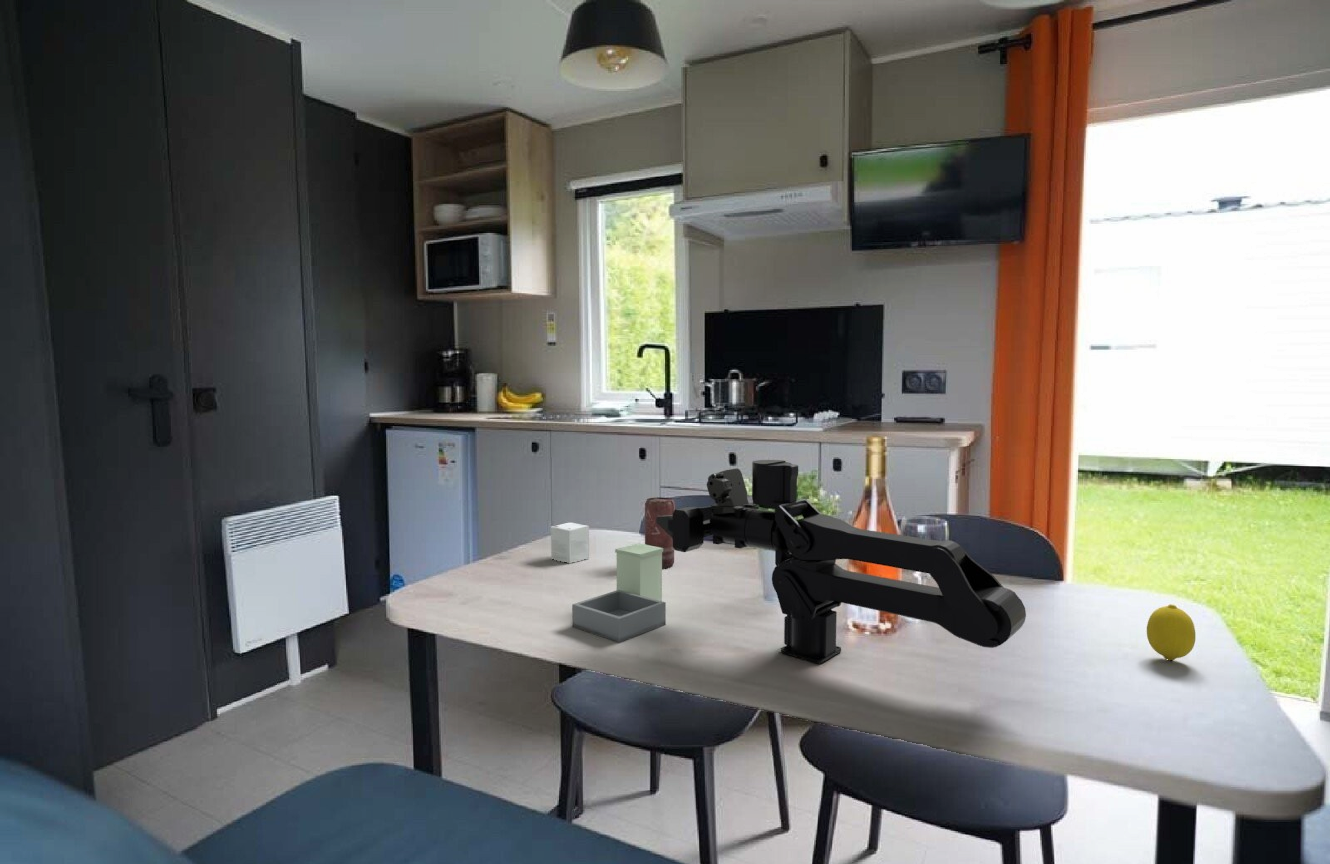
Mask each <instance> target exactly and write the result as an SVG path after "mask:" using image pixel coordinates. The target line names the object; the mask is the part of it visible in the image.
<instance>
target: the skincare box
mask: <svg viewBox="0 0 1330 864" xmlns="http://www.w3.org/2000/svg"><path fill="white" fill-rule="evenodd" d="M550 550H551V551H550V553H551V560H552V559H554V560H553V561H556V560H557V562H560V561H561V563H564V562H567V563H566V564H568V563H571V562H575V563H578V562H577V561H579V562H582V561H581V560H583V561H585V560H584V559H587V560H588V558H589V559H590V555H591V554H590V526H589V525H586V524H585V525H584V524H580V523H575V522H565V523H562V524H561V523H560V524H557V525H552V526H550ZM571 564H572V563H571Z"/></svg>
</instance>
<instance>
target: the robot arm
mask: <svg viewBox="0 0 1330 864" xmlns="http://www.w3.org/2000/svg"><path fill="white" fill-rule="evenodd" d="M751 464H752V465H751V471H752V472H751V474H752V475H751V495H748V490H747V488H746V483H745V480H744V476H743V473H742V471H741V469H739V468H738V467H737V468H736V467H735V468H729V469H724V470H722V471H719V472H716V473H712V474H710V475H709V476H708V477H707V481H706V487H707V492H708V496H709V497H710V499H711V500H714V502H715V503H716V504H712V505H710V506H703V507H696V506H684V507H678V508H675V510H674V512H673V515H667V516H657V517H656V523H657V524H658V525H659V526H660V527H661V528H662V529H663V530H664V531H665V532H666V533H667V534H668V535H669V536H670V537H671V538H672V539H673V548H674V551H676V552H682V553H687V552H690V551H695V550H698V549H699V548H701V547H702V545H703V544H704V542H705V541H704V538H707V537H709V536H712V544H713V545H721V544H725V543H729V544H733V545H734V548H735V549H743V548H747V547H749V548H750V547H751V548H757V549H761V550H767V551H774V554H775V555H774V556H775V557H774V558H775V560H774V563H775V567H774V568H773V570H772V574H771V583H772V587H773V589H774V592H775V594H776V595H777V598H778V603H779V606H780V611H781V613H782V614H783V615H785V616H784V618H783V621H784V623H783V624H784V625H783V629H784V630H783V631H784V633H783V644H784V646H783V647H781V648H780V653H781V654H785V655H789V656H792V657H794V658H795V657H796V658H799V659H801V660H805V661H809V662H811V663H814V664H815V663H816V664H823V663H824V662H825V661H827V660H829V659H831V658H832V657H834V656H835V655H837V654H839V653H840V652H842V647H841V646H838V645H837V611H836V610H834V609H835V608H837V607H840V606H841V604H846V605H852V606H855V607H861V608H865V609H870V610H873V611H878V612H884V613H888V614H893V615H897V616H901V617H906V618H911V619H915V620H920V621H925V622H929V623H933V624H936V625H937V626H940V627H941V628H943V629H944V630H945V631H947V632H948V633H950V634H951V635H953V636H955V637H957V638H959V639H961V640H964V641H966V642H969V643H970V644H971V643H972V644H974V645H976V646H980V647H982V648H991V649H993V648H997V647H999V646H1002V645H1003V644H1004V643H1006V642H1008V640H1009V639H1010V638H1011V637H1013V636H1014V635H1015V634H1016V633H1017V632H1018V631H1020V629H1021V628H1022V627H1023V625H1024V624H1025V621H1026V619H1027V618H1026V617H1027V614H1026V612H1027V611H1026V607H1025V605H1024V603H1023V601H1022V599H1021V598H1020V597H1019V596H1018V594H1017V593H1016V592H1015V591H1013V590H1012V589H1010V588H1006V587H1004V586H1003V585H1002V584H1001V583H1000V581H999V580H998V579H997V578H996V577H995V575H993V574H992V573H991V572H990V571H989V570H988V569H986V568H984V567H983V566H982V565H981V564H980V563H978V562H977V561H976V560H974V559H973V558H972V557H971V556H970V555H969V554H968V552H967V551H966V550H965V549H964V548H963V546H961V545H960V544H959V543H957V542H956V541H953V540H950V539H949V540H948V539H946V540H938V539H937V540H936V539H930V538H929V539H928V538H924V537H916V536H909V535H902V534H895V533H889V532H882V531H877V530H870V529H862V528H858V527H856V526H854V525H851V524H849V523H848V522H846V521H845V520H842V519H839V518H836V517H833V516H831V515H828V514H824V513H821V512H820V511H819V510H818V509H817V507H815V506H814V505H813V504H812V503H811V502H810V501H809V500H808V499H807V498H801V499H798V476H799V465H798V464H794V463H793V464H792V463H791V462H789V461H788V462H787V461H786V460H784V459H783V460H782V459H760V460H757V459H755V460H753V461H752V462H751ZM760 508H762V509H760ZM766 509H768V510H766ZM801 516H802V518H800V519H799V518H798V519H795V518H797V517H801ZM838 560H852V561H856V562H857V561H858V562H861V563H862V562H863V563H869V564H875V565H878V566H879V565H880V566H884V567H885V566H886V567H890V568H896V569H901V570H906V571H912V572H919V573H924V574H929V575H930V576H931V578H932V579H933V580H934V581H935V583H936V584H937V586H932V585H927V584H920V583H915V582H910V581H907V580H906V581H905V580H899V579H895V578H888V577H883V576H878V575H873V574H868V573H861V572H856V571H851V570H846V569H843V567H841V566H839V565H838V564H836V561H838Z"/></svg>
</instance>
